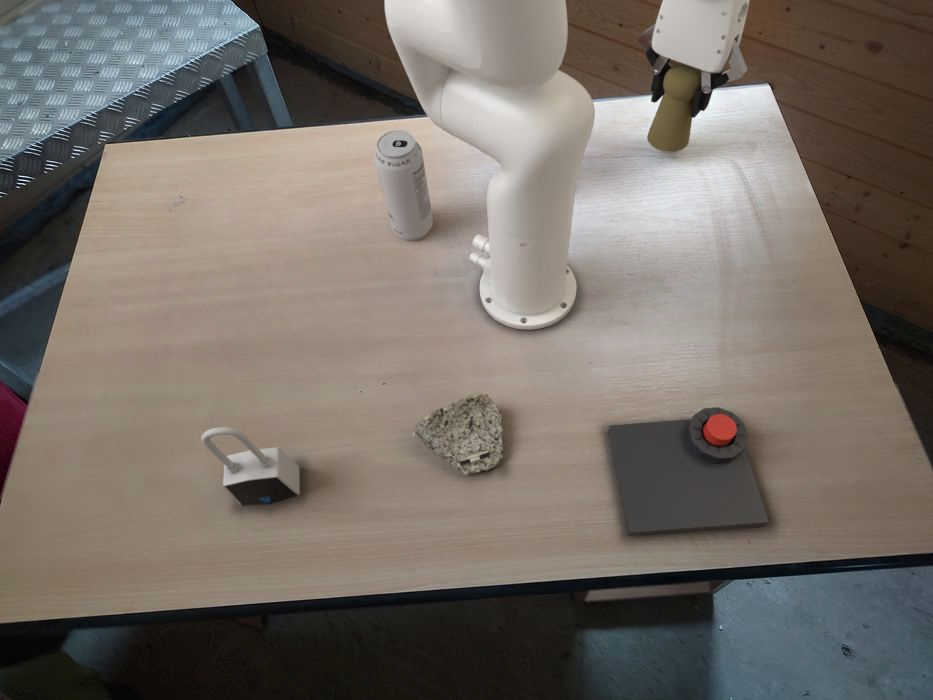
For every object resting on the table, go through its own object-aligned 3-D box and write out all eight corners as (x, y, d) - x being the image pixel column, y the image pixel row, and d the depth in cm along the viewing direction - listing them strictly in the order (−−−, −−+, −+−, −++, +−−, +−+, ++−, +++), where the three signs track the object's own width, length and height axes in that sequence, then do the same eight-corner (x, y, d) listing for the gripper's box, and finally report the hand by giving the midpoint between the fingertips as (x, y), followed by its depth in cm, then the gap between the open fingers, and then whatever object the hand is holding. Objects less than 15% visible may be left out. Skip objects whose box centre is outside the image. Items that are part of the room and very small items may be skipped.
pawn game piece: (693, 130, 92) (714, 61, 83) (683, 156, 89) (704, 87, 80) (653, 121, 94) (669, 52, 84) (642, 146, 91) (657, 77, 81)
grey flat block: (628, 536, 64) (632, 528, 62) (607, 426, 71) (610, 415, 68) (764, 526, 64) (775, 517, 61) (730, 417, 70) (738, 405, 68)
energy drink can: (396, 211, 91) (377, 126, 78) (436, 213, 90) (424, 127, 77) (388, 242, 88) (367, 158, 75) (429, 244, 87) (415, 160, 74)
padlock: (239, 509, 68) (177, 457, 56) (241, 473, 71) (181, 415, 58) (299, 498, 69) (250, 444, 56) (299, 463, 71) (252, 403, 58)
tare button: (707, 447, 66) (711, 440, 64) (699, 422, 67) (704, 415, 66) (735, 445, 66) (740, 438, 64) (727, 419, 67) (732, 412, 66)
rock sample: (461, 495, 63) (444, 414, 62) (420, 484, 70) (403, 409, 68) (532, 460, 70) (518, 385, 68) (489, 452, 76) (474, 383, 74)
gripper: (800, -28, 70) (747, 112, 85) (662, -65, 76) (636, 71, 91) (772, 2, 67) (722, 141, 82) (632, -40, 73) (609, 97, 88)
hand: (677, 103), depth 86 cm, fingers closed on pawn game piece, 5 cm apart
